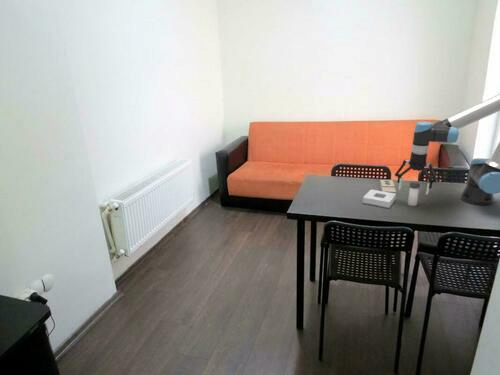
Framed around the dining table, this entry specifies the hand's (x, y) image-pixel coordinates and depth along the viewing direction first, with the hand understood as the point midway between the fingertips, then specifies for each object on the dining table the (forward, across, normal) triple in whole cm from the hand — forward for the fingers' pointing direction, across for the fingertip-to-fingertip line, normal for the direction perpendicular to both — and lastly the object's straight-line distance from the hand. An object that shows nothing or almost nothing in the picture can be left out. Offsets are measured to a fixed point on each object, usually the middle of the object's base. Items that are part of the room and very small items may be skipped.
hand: (413, 191), depth 186 cm
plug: (+7, 0, 0) cm, 7 cm away
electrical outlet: (+8, +16, -15) cm, 23 cm away
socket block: (+8, +16, +5) cm, 18 cm away
